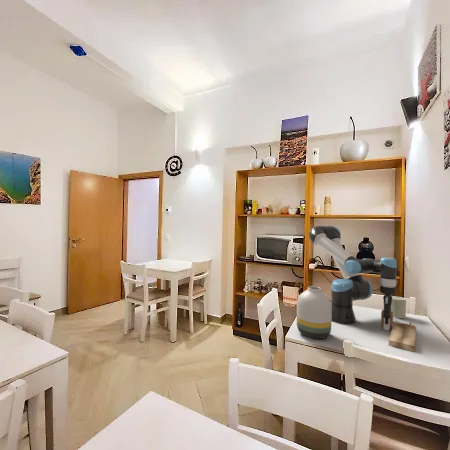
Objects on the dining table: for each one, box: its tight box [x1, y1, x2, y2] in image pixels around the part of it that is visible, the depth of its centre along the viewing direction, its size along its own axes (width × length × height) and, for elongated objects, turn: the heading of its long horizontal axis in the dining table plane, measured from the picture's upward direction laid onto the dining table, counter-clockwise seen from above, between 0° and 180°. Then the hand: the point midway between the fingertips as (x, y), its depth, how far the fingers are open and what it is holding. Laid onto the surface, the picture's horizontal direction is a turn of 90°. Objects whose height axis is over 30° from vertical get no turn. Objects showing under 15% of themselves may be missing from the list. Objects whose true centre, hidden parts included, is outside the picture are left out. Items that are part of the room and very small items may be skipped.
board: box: [388, 324, 417, 352], centre depth 132 cm, size 10×28×3 cm, turn 143°
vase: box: [296, 285, 333, 340], centre depth 135 cm, size 17×17×24 cm
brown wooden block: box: [380, 309, 416, 331], centre depth 142 cm, size 15×5×9 cm, turn 53°
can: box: [391, 295, 407, 319], centre depth 164 cm, size 9×9×12 cm
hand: (387, 328), depth 145 cm, fingers closed on brown wooden block, 5 cm apart
